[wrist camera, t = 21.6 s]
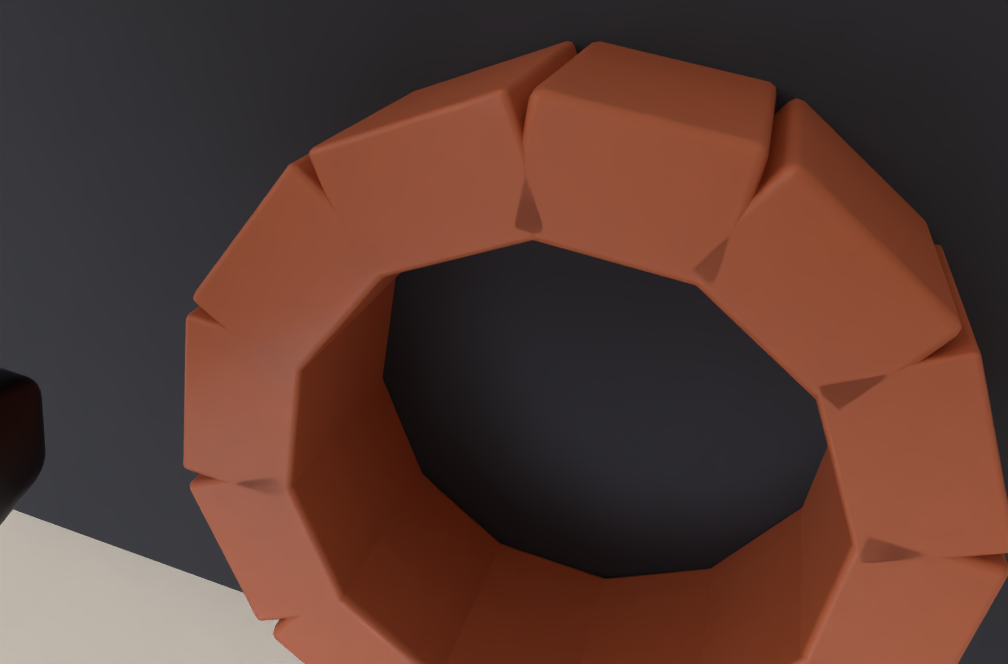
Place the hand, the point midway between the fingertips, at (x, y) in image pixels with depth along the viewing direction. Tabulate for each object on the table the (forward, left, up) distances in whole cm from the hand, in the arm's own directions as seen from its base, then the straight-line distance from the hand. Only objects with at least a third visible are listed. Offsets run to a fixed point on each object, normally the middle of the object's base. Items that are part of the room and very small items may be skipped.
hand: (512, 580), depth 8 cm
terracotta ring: (0, 0, -3) cm, 3 cm away
